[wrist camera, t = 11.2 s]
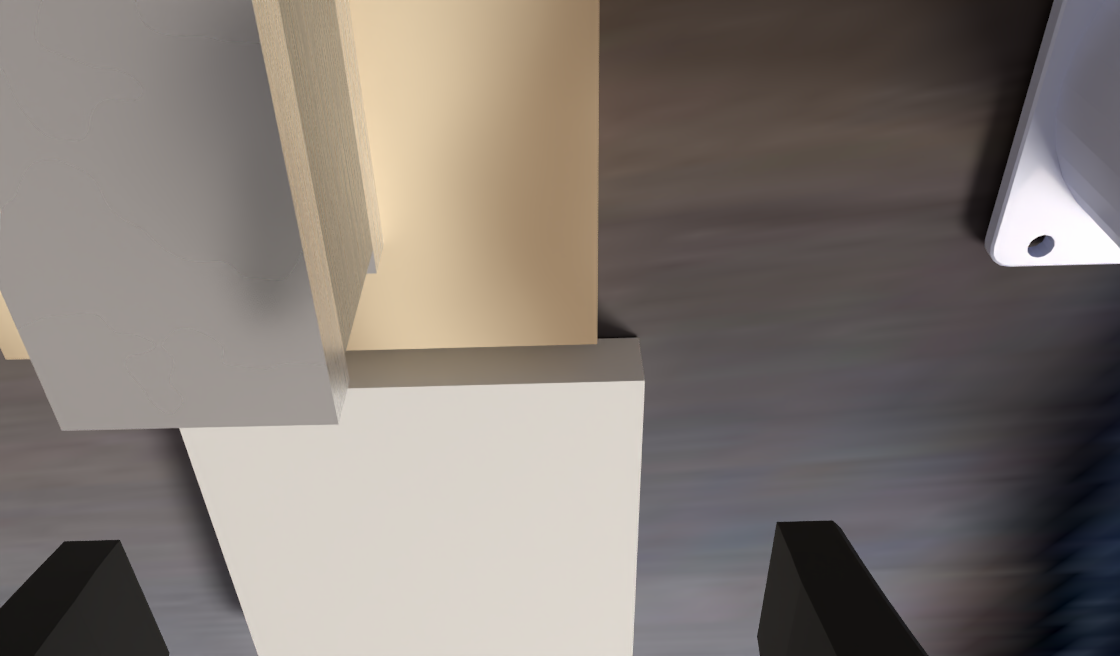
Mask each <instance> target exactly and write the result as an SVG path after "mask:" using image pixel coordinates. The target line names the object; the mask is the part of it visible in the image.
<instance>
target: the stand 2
mask: <svg viewBox="0 0 1120 656" xmlns="http://www.w3.org/2000/svg"><path fill="white" fill-rule="evenodd" d="M345 358H346V364H347V369H348V374H349V380H350V381H349V385H348V389H347V393H346V397H345V401H344V405H343V409H342V413H341V417H340V421H339V425H294V426H248V427H203V428H179V429H180V432H181V435H182V438H183V440H184V443H185V446H186V449H187V452H188V455H189V458H190V461H191V463H192V466H193V469H194V472H195V475H196V478H197V481H198V484H199V486H200V489H201V492H202V495H203V498H204V501H205V504H206V507H207V509H208V512H209V515H210V518H211V521H212V524H213V527H214V530H215V532H216V535H217V538H218V541H219V544H220V547H221V550H222V553H223V555H224V558H225V561H226V564H227V567H228V570H229V573H230V576H231V578H232V581H233V584H234V587H235V590H236V593H237V596H238V599H239V601H240V604H241V607H242V610H243V613H244V616H245V619H246V622H247V624H248V627H249V630H250V633H251V636H252V639H253V642H254V645H255V647H256V650H257V653H258V656H632V655H633V633H634V611H635V588H636V566H637V543H638V521H639V499H640V476H641V454H642V431H643V409H644V387H645V379H644V372H643V365H642V358H641V351H640V344H639V338H606V339H597V344H582V345H544V346H505V347H467V348H428V349H390V350H351V351H346V352H345Z"/></svg>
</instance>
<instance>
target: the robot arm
mask: <svg viewBox="0 0 1120 656" xmlns="http://www.w3.org/2000/svg"><path fill="white" fill-rule="evenodd" d="M1042 235H1046V237H1045V238H1044V240H1043V241H1042V242H1041V243H1039V244H1038V245H1037V246H1033V247H1028V246H1029V244H1030V242H1031V241H1032V240H1034V239H1035V238H1036V237H1038V236H1042ZM985 248H986V250H987V252H988V254H989V255H990V257H991V258H992V260H993V261H994V262H996V263H997V264H999V265H1002V266H1008V267H1012V266H1051V265H1090V264H1120V0H1054V2H1053V5H1052V9H1051V12H1050V15H1049V19H1048V22H1047V26H1046V29H1045V33H1044V36H1043V40H1042V43H1041V47H1040V50H1039V54H1038V57H1037V61H1036V64H1035V67H1034V71H1033V74H1032V78H1031V81H1030V85H1029V88H1028V92H1027V95H1026V99H1025V102H1024V106H1023V109H1022V113H1021V116H1020V119H1019V123H1018V126H1017V130H1016V133H1015V137H1014V140H1013V144H1012V147H1011V151H1010V154H1009V158H1008V161H1007V165H1006V168H1005V171H1004V175H1003V178H1002V182H1001V185H1000V189H999V192H998V196H997V199H996V203H995V206H994V210H993V213H992V217H991V220H990V223H989V227H988V230H987V234H986V237H985ZM757 638H758V645H759V652H760V656H928V655H927V653H926V652H925V651H924V649H923V648H922V646H921V645H920V644H919V642H918V641H917V640H916V638H915V637H914V636H913V634H912V633H911V631H910V630H909V629H908V627H907V626H906V624H905V623H904V621H903V620H902V619H901V617H900V616H899V614H898V613H897V612H896V610H895V609H894V607H893V606H892V604H891V603H890V602H889V600H888V599H887V597H886V596H885V594H884V593H883V591H882V590H881V589H880V587H879V586H878V584H877V583H876V581H875V580H874V578H873V577H872V575H871V574H870V572H869V571H868V569H867V568H866V566H865V565H864V563H863V562H862V560H861V559H860V557H859V556H858V554H857V553H856V551H855V550H854V548H853V546H852V545H851V543H850V542H849V540H848V539H847V537H846V536H845V534H844V532H843V531H842V529H841V528H840V527H839V526H838V525H837V524H836V523H835V522H834V521H798V522H777V524H776V530H775V536H774V542H773V548H772V554H771V559H770V565H769V571H768V577H767V583H766V588H765V594H764V600H763V606H762V612H761V618H760V623H759V629H758V635H757ZM0 656H169V651H168V649H167V646H166V644H165V642H164V639H163V637H162V635H161V633H160V630H159V628H158V626H157V624H156V621H155V619H154V617H153V614H152V612H151V610H150V608H149V605H148V603H147V601H146V599H145V596H144V594H143V592H142V589H141V587H140V585H139V583H138V580H137V578H136V576H135V574H134V571H133V569H132V567H131V564H130V562H129V560H128V558H127V555H126V553H125V551H124V549H123V546H122V544H121V542H120V540H102V541H65V542H63V543H62V544H61V545H60V547H59V548H58V549H57V550H56V551H55V552H54V553H53V554H52V555H51V556H50V557H49V558H48V559H47V560H46V561H45V562H44V563H43V564H42V565H41V566H40V567H39V568H38V569H37V570H36V571H35V572H34V573H33V574H32V575H31V576H30V577H29V578H28V580H27V581H26V582H25V583H24V584H23V585H22V586H21V587H20V588H19V589H18V590H17V591H16V592H15V593H14V594H13V595H12V596H11V597H10V598H9V600H8V601H7V602H6V603H5V604H4V605H3V606H2V607H1V608H0Z"/></svg>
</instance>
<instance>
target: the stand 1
mask: <svg viewBox="0 0 1120 656" xmlns="http://www.w3.org/2000/svg"><path fill="white" fill-rule="evenodd" d="M349 6H350V13H351V20H352V27H353V34H354V41H355V48H356V54H357V61H358V68H359V75H360V82H361V89H362V96H363V103H364V110H365V117H366V124H367V131H368V138H369V144H370V151H371V158H372V165H373V172H374V179H375V186H376V193H377V200H378V207H379V214H380V221H381V228H382V234H383V241H384V246H383V250H382V254H381V258H380V262H379V266H378V270H377V273H373V274H366V277H365V281H364V285H363V289H362V292H361V296H360V300H359V304H358V307H357V311H356V315H355V319H354V322H353V326H352V330H351V334H350V337H349V341H348V345H347V349H346V351H351V350H390V349H428V348H467V347H505V346H544V345H582V344H597V307H598V135H599V0H349ZM0 348H1V350H2V352H3V354H4V356H5V359H30V357H29V355H28V353H27V350H26V348H25V346H24V344H23V341H22V339H21V337H20V335H19V332H18V330H17V328H16V325H15V323H14V321H13V319H12V316H11V314H10V312H9V310H8V307H7V305H6V303H5V300H4V298H3V296H2V294H1V291H0Z"/></svg>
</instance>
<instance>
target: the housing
mask: <svg viewBox="0 0 1120 656" xmlns="http://www.w3.org/2000/svg"><path fill="white" fill-rule="evenodd" d="M383 246H384V241H383V234H382V228H381V221H380V214H379V207H378V200H377V193H376V186H375V179H374V172H373V165H372V158H371V151H370V144H369V138H368V131H367V124H366V117H365V110H364V103H363V96H362V89H361V82H360V75H359V68H358V61H357V54H356V48H355V41H354V34H353V27H352V20H351V13H350V6H349V0H0V291H1V294H2V296H3V298H4V300H5V303H6V305H7V307H8V310H9V312H10V314H11V316H12V319H13V321H14V323H15V325H16V328H17V330H18V332H19V335H20V337H21V339H22V341H23V344H24V346H25V348H26V350H27V353H28V355H29V357H30V359H31V362H32V364H33V366H34V369H35V371H36V373H37V375H38V378H39V380H40V382H41V384H42V387H43V389H44V391H45V394H46V396H47V398H48V400H49V403H50V405H51V407H52V409H53V412H54V414H55V416H56V418H57V421H58V423H59V425H60V428H61V430H62V431H67V430H113V429H158V428H203V427H248V426H294V425H339V421H340V417H341V413H342V409H343V405H344V401H345V397H346V393H347V389H348V385H349V381H350V380H349V374H348V369H347V364H346V358H345V352H346V349H347V345H348V341H349V337H350V334H351V330H352V326H353V322H354V319H355V315H356V311H357V307H358V304H359V300H360V296H361V292H362V289H363V285H364V281H365V277H366V274H373V273H377V270H378V266H379V262H380V258H381V254H382V250H383Z"/></svg>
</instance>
